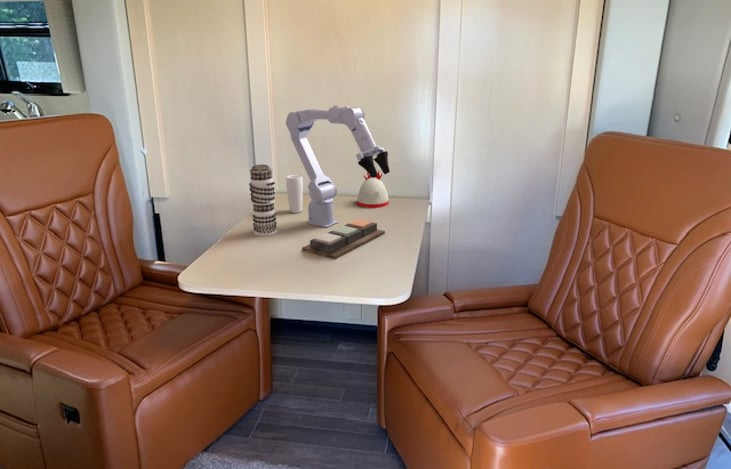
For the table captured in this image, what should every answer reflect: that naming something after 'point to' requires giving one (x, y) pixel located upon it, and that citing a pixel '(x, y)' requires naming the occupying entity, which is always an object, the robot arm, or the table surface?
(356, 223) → the terracotta key
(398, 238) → the table surface
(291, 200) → the drinking glass
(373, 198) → the knitted chicken hat
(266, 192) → the white and black cylinder
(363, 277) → the table surface
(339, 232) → the sage key
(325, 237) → the off-white key
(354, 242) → the key board
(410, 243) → the table surface
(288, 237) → the table surface
